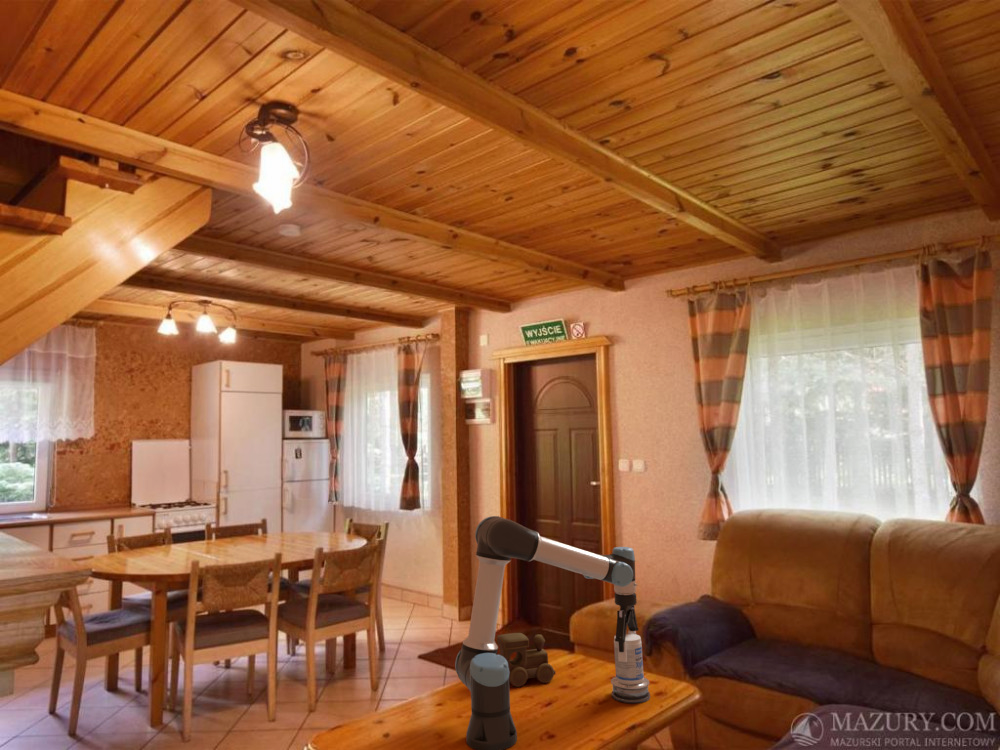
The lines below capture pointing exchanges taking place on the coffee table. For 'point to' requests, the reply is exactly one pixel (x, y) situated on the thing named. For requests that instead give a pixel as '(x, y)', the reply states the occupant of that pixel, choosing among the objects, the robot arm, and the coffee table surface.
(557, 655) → the coffee table surface
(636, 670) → the supplement tub
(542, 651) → the wooden toy train
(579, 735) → the coffee table surface
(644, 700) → the duct stub
